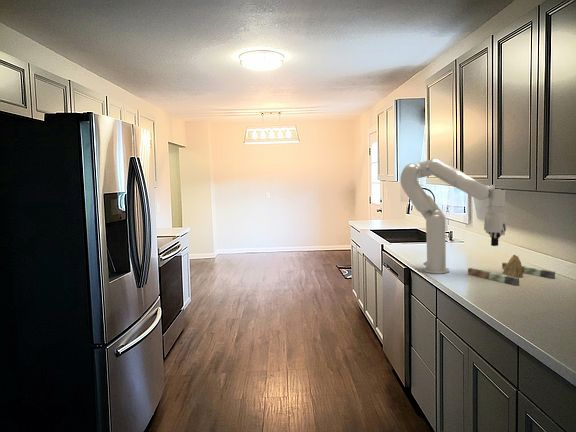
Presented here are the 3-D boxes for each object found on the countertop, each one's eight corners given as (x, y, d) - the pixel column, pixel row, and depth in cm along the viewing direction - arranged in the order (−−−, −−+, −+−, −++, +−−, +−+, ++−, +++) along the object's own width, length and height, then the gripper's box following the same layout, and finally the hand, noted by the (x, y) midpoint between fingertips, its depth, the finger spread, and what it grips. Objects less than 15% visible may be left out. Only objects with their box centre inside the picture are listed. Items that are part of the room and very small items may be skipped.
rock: (529, 273, 213) (526, 266, 222) (517, 259, 213) (515, 253, 222) (509, 285, 217) (507, 278, 226) (497, 271, 217) (496, 265, 227)
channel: (468, 274, 226) (468, 268, 225) (504, 268, 236) (504, 262, 236) (516, 285, 200) (516, 279, 200) (554, 278, 210) (555, 271, 210)
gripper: (478, 208, 228) (477, 244, 230) (503, 211, 214) (501, 248, 216) (489, 208, 231) (488, 243, 233) (514, 210, 217) (512, 247, 219)
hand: (494, 245), depth 224 cm, fingers closed
